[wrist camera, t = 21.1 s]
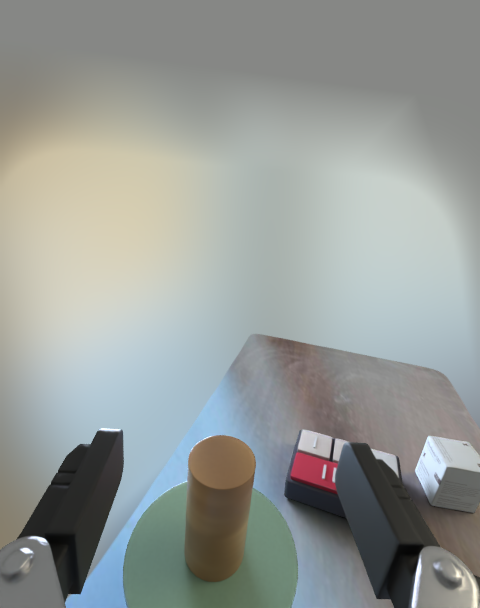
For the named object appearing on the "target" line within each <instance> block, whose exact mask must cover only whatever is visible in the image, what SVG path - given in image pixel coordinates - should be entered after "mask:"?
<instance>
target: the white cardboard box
mask: <svg viewBox="0 0 480 608" xmlns="http://www.w3.org/2000/svg"><path fill="white" fill-rule="evenodd" d="M415 472H416V475H417V476H418V478H419V480H420V482H421V484H422V487H423V489H424V491H425V493H426V495H427V498H428V500H429V503H430V504H431V505H432V506H437V507H442V508H448V509H454V510H460V511H466V512H472V513H475V511H476V509H477V507H478V505H479V503H480V455H479V454H478V453H477V452H476V451H475V449H474V448H473V447H472V445H471V444H470V443H469V442H464V441H458V440H452V439H446V438H440V437H435V436H428V438H427V441H426V444H425V446H424V449H423V451H422V454H421V457H420V459H419V462H418V464H417V467H416V470H415Z"/></svg>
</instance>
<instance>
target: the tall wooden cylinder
mask: <svg viewBox="0 0 480 608" xmlns="http://www.w3.org/2000/svg"><path fill="white" fill-rule="evenodd" d="M255 467H256V461H255V456H254V454H253V452H252V450H251V449H250V448H249V446H248V445H246V444H245V443H244V442H243V441H241V440H239V439H237V438H234V437H231V436H225V435H218V436H211V437H208V438H205V439H203V440H201V441H200V442H198V443H197V444H196V445H195V446H194V447H193V449H192V450H191V452H190V454H189V458H188V476H187V500H186V523H185V546H184V554H185V559H186V563H187V565H188V567H189V569H190V570H191V571H192V572H193V574H195V575H196V576H197V577H198V578H200V579H202V580H204V581H208V582H219V581H223V580H225V579H227V578H229V577H230V576H232V575H233V574H234V573H235V572H236V571H237V570H238V568H239V566H240V565H241V562H242V559H243V555H244V548H245V541H246V533H247V526H248V519H249V511H250V504H251V496H252V489H253V482H254V474H255Z"/></svg>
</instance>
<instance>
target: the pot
mask: <svg viewBox="0 0 480 608" xmlns="http://www.w3.org/2000/svg"><path fill="white" fill-rule="evenodd" d="M186 500H187V482H184V483H181V484H179V485H177V486H175V487H173V488H171V489H170V490H168V491H166V492H165V493H164V494H162V495H161V496H160V497H158V498H157V499H156V500H155V501H154V502H153V503H152V504H151V505H150V506H149V507H148V509H147V510H146V511H145V512H144V513H143V515H142V516H141V518H140V519H139V521H138V522H137V524H136V526H135V528H134V530H133V532H132V534H131V537H130V540H129V542H128V545H127V549H126V553H125V558H124V566H123V588H124V596H125V601H126V605H127V608H291V607H292V604H293V600H294V597H295V592H296V586H297V579H298V563H297V553H296V549H295V544H294V540H293V538H292V535H291V532H290V530H289V527H288V525H287V523H286V521H285V520H284V518H283V516H282V515H281V513H280V512H279V511H278V509H277V508H276V507H275V505H274V504H273V503H272V502H271V501H270V500H269V499H268V498H267V497H265V496H264V495H263V494H262V493H260V492H259V491H257V490H256V489H254V488H253V489H252V496H251V504H250V511H249V519H248V526H247V533H246V541H245V548H244V555H243V559H242V562H241V565H240V566H239V568H238V570H237V571H236V572H235V573H234V574H233V575H232V576H230V577H229V578H227V579H225V580H223V581H219V582H208V581H204V580H202V579H200V578H198V577H197V576H196V575H195V574H193V572H192V571H191V570H190V569H189V567H188V565H187V563H186V559H185V554H184V546H185V523H186Z"/></svg>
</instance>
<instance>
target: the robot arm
mask: <svg viewBox="0 0 480 608" xmlns="http://www.w3.org/2000/svg"><path fill="white" fill-rule="evenodd" d="M123 459H124V457H123V431H122V430H118V429H99V430H98V431H97V433H96V435H95V437H94V439H93V441H92V443H91V444H80V445H79V446H77V447H76V448H75V449H74V450H73V451H72V452H71V453H69V454H68V455H67V456H66V458H65V460H64V461H63V463H62V465H61V466H60V468H59V470H58V473H56V475H55V476H54V478H53V480H52V482H51V485H49V487H48V488H47V490H46V492H45V493H44V495H43V497H42V499H41V500H40V502H39V504H38V505H37V507H36V509H35V510H34V512H33V514H32V515H31V517H30V519H29V521H28V522H27V524H26V525H25V527H24V529H23V531H22V532H21V534H20V535H19V537H18V538H17V539H16V540H15V541H13V542H11V543H9V544H7V545H6V546H5V547H3V548H2V549H1V550H0V608H66V606H65V601H66V598H67V596H68V594H81V591H82V588H83V586H84V583H85V580H86V577H87V574H88V571H89V569H90V566H91V563H92V560H93V557H94V555H95V552H96V549H97V546H98V543H99V541H100V537H101V535H102V532H103V529H104V527H105V523H106V521H107V518H108V515H109V512H110V510H111V506H112V504H113V501H114V498H115V496H116V493H117V490H118V487H119V484H120V481H121V477H122V472H123V464H124V460H123ZM335 485H336V490H337V493H338V496H339V499H340V502H341V504H342V507H343V510H344V512H345V515H346V518H347V520H348V523H349V526H350V528H351V531H352V534H353V536H354V539H355V542H356V544H357V547H358V550H359V552H360V555H361V558H362V560H363V563H364V566H365V568H366V571H367V574H368V577H369V579H370V582H371V585H372V587H373V590H374V593H375V595H376V598H377V599H391V601H392V603H393V606H394V608H480V577H477V576H475V575H473V574H472V572H471V571H470V570H469V569H468V567H467V566H466V565H465V564H464V563H463V562H462V561H461V560H460V559H459V558H458V557H456V556H455V555H454V554H452V553H450V552H449V551H447V550H445V549H443V548H441V547H440V545H439V544H438V542H437V541H436V539H435V537H434V536H433V534H432V532H431V531H430V529H429V527H428V526H427V524H426V522H425V521H424V519H423V517H422V516H421V514H420V512H419V511H418V509H417V508H416V506H415V504H414V503H413V501H412V500H410V496H409V494H408V493H407V491H406V489H405V488H403V484H402V483H401V481H400V479H399V478H398V476H397V474H396V473H395V471H394V470H393V469H392V468H391V467H389V466H388V465H387V464H386V463H385V462H384V461H383V460H382V459H376V457H375V456H374V454H373V452H372V450H371V449H370V447H369V445H368V444H366V443H353V442H345V443H344V445H343V448H342V451H341V455H340V459H339V462H338V466H337V470H336V474H335Z"/></svg>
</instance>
